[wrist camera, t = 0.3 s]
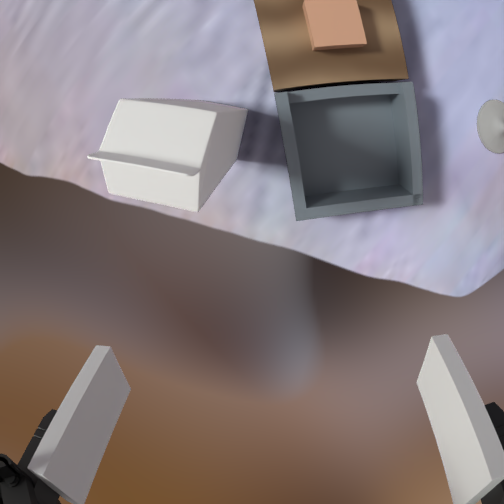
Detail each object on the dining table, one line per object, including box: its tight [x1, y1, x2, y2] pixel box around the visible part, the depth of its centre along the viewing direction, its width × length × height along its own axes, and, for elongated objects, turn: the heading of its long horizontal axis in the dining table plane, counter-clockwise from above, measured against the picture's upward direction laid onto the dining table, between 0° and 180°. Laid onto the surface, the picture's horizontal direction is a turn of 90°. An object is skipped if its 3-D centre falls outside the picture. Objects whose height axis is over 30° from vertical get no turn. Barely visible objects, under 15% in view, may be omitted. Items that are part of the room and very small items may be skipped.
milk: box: [88, 99, 248, 212], centre depth 24 cm, size 6×6×22 cm
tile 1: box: [302, 0, 367, 51], centre depth 24 cm, size 5×5×2 cm
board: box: [254, 0, 409, 92], centre depth 25 cm, size 18×14×4 cm
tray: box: [274, 82, 423, 221], centre depth 31 cm, size 13×14×5 cm
